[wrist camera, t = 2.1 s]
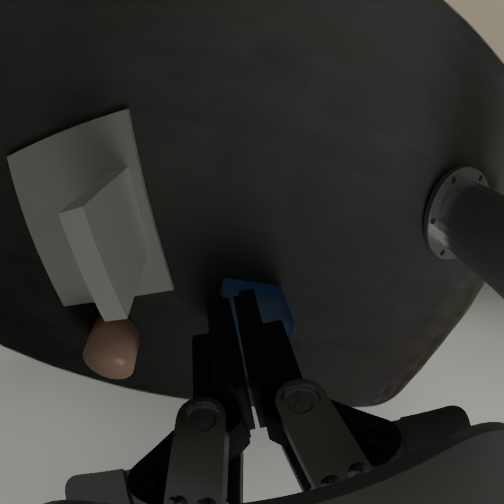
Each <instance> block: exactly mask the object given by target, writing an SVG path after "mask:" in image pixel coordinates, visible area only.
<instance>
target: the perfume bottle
mask: <svg viewBox="0 0 504 504" xmlns="http://www.w3.org/2000/svg"><path fill="white" fill-rule="evenodd" d="M247 289H254V293H255V296H256V300H257V304H258V307H259V311H260V315H261V318H262V322H263V323H267V322H271V321H276V320H282V322H283V324H284V327H285V330H286V333H287V336H288V339H289V340H290V337H291V334H292V331H293V328H294V325H295V323H294V320H293V318H292V315H291V312H290V310H289V307H288V304H287V301H286V299H285V296H284V293H283V291H282V288H281V286H279V285H272V284H265V283H257V282H250V281H243V280H236V279H230V278H224V279H223V283H222V287H221V291H220V295H221V294H222V296H223V298H227V297H229V301H230V305H231V310H232V314H233V319H234V323H235V327H236V332H237V336H238V341H239V345H240V349H241V354H242V360H243V365H244V371H245V376H246V382H247V387H248V393H249V398H250V403H251V404H253V405H254V401H253V397H252V393H251V389H250V385H249V380H248V375H247V370H246V365H245V359H244V354H243V348H242V343H241V337H240V332H239V326H238V320H237V315H236V309H235V303H234V297H233V296H237V295H239V291H242V290H247Z"/></svg>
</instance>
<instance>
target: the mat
mask: <svg viewBox="0 0 504 504" xmlns="http://www.w3.org/2000/svg"><path fill="white" fill-rule="evenodd" d="M7 160H8V164H9V168H10V172H11V175H12V179H13V183H14V186H15V190H16V193H17V196H18V199H19V202H20V205H21V208H22V211H23V214H24V217H25V220H26V223H27V226H28V228H29V231H30V233H31V236H32V239H33V241H34V244H35V246H36V248H37V251H38V253H39V256H40V258H41V260H42V262H43V265H44V267H45V269H46V271H47V273H48V276H49V278H50V280H51V282H52V284H53V286H54V288H55V290H56V292H57V294H58V296H59V298H60V300H61V302H62V303H63V305H64V306H69V305H77V304H84V303H91V302H94V300H93V297H92V295H91V293H90V291H89V289H88V287H87V285H86V283H85V280H84V278H83V276H82V274H81V271H80V269H79V267H78V264H77V262H76V260H75V257H74V255H73V252H72V250H71V247H70V245H69V242H68V240H67V237H66V234H65V232H64V229H63V226H62V223H61V220H60V217H59V215H58V213H60V212H61V211H62V210H63V209H64V208H65V207H67V206H68V205H69V204H70V203H71V202H72V201H74V200H75V199H76V198H77V197H78V196H80V195H81V194H82V193H83V192H85V191H86V190H87V189H88V188H90V187H91V186H92V185H93V184H95V183H96V182H97V181H99V180H100V179H101V178H103V177H104V176H105V175H107V174H108V173H109V172H112V171H116V170H120V169H123V168H127V167H128V170H129V174H130V178H131V182H132V186H133V190H134V194H135V198H136V202H137V205H138V209H139V212H140V216H141V220H142V223H143V227H144V230H145V233H146V237H147V240H148V243H149V246H150V251H149V254H148V256H147V259H146V262H145V265H144V268H143V271H142V274H141V277H140V280H139V283H138V286H137V289H136V292H135V295H134V296H138V295H145V294H151V293H157V292H164V291H170V290H174V285H173V282H172V279H171V275H170V272H169V269H168V266H167V263H166V259H165V256H164V253H163V249H162V246H161V242H160V239H159V235H158V232H157V228H156V225H155V221H154V217H153V214H152V210H151V206H150V202H149V198H148V194H147V190H146V186H145V182H144V178H143V174H142V169H141V165H140V161H139V156H138V151H137V147H136V142H135V137H134V132H133V127H132V122H131V116H130V111H129V109H126V110H122V111H119V112H116V113H112V114H109V115H106V116H103V117H100V118H97V119H94V120H91V121H89V122H86V123H83V124H80V125H78V126H75V127H72V128H70V129H67V130H65V131H62V132H60V133H57V134H55V135H52V136H50V137H48V138H46V139H43V140H41V141H39V142H37V143H34V144H32V145H30V146H28V147H26V148H24V149H22V150H20V151H18V152H16V153H14V154H12V155H10V156H8V157H7Z"/></svg>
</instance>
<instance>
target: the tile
mask: <svg viewBox="0 0 504 504" xmlns="http://www.w3.org/2000/svg"><path fill="white" fill-rule="evenodd" d="M58 215H59V217H60V220H61V223H62V226H63V229H64V232H65V234H66V237H67V240H68V242H69V245H70V247H71V250H72V252H73V255H74V257H75V260H76V262H77V264H78V267H79V269H80V271H81V274H82V276H83V278H84V280H85V283H86V285H87V287H88V289H89V291H90V293H91V295H92V297H93V300H94V302H95V304H96V306H97V308H98V310H99V312H100V314H101V315H102V317H103V319H104V321H114V320H122V319H127V318H128V315H129V311H130V308H131V305H132V302H133V298H134V295H135V292H136V289H137V286H138V283H139V280H140V277H141V274H142V271H143V268H144V265H145V262H146V259H147V256H148V254H149V251H150V246H149V243H148V240H147V237H146V233H145V230H144V227H143V223H142V220H141V216H140V212H139V209H138V205H137V202H136V198H135V194H134V190H133V186H132V182H131V178H130V174H129V170H128V167H127V168H123V169H120V170H116V171H112V172H109V173H108V174H107V175H105V176H104V177H103V178H101V179H100V180H99V181H97V182H96V183H95V184H93V185H92V186H91V187H90V188H88V189H87V190H86V191H85V192H83V193H82V194H81V195H80V196H78V197H77V198H76V199H75V200H74V201H72V202H71V203H70V204H69V205H68V206H67V207H65V208H64V209H63V210H62V211H61V212H60V213H58Z"/></svg>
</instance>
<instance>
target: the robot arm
mask: <svg viewBox="0 0 504 504" xmlns="http://www.w3.org/2000/svg"><path fill="white" fill-rule="evenodd" d="M423 230H424V237H425V241H426V244H427V246H428V247H429V249H430V250H431V251H432V252H433V253H434V254H435V255H436V256H438V257H439V258H442V259H445V260H446V259H454V258H457V257H458V258H459V259H460V260H461V261H462V262H463V263H465V264H466V265H467V266H468V267H469V268H470V269H472V270H473V271H474V272H475V273H476V274H477V275H478V276H480V277H481V278H482V279H483V280H484V281H485V282H486V283H487V284H488V285H489V286H491V287H492V288H493V289H494V290H495V291H496V292H497V293H498V294H499V295H500V296H501V297H502V298H503V299H504V195H502V194H500V193H498V192H496V191H494V190H492V189H490V188H489V185H488V182H487V180H486V178H485V176H484V175H483V174H482V173H481V172H480V171H479V170H478V169H476V168H474V167H471V166H468V165H460V166H457V167H454V168H453V169H451V170H449V171H448V172H447V173H446V174H445V175H444V176H443V177H442V178H441V179H440V180H439V182H438V183H437V184H436V186H435V188H434V190H433V191H432V193H431V196H430V198H429V200H428V203H427V207H426V210H425V216H424V229H423ZM233 297H234V303H235V309H236V315H237V320H238V326H239V332H240V337H241V343H242V348H243V354H244V359H245V365H246V370H247V375H248V380H249V385H250V389H251V393H252V397H253V401H254V405H255V409H256V413H257V416H258V421H259V425H260V427H261V428H262V427H267V431H268V435H269V439H270V440H272V441H274V442H276V443H278V444H280V445H281V446H282V449H283V451H284V453H285V455H286V458H287V460H288V462H289V464H290V466H291V468H292V471H293V473H294V475H295V477H296V479H297V481H298V483H299V485H300V487H301V489H302V491H303V492H301V493H297V494H292V495H288V496H283V497H278V498H273V499H268V500H261V501H255V502H248V503H243V451H244V449H245V448H246V447H247V446H248V445H249V444H250V439H249V438H250V437H251V435H250V430H251V429H255V424H254V419H253V414H252V409H251V403H250V398H249V393H248V387H247V382H246V376H245V371H244V365H243V360H242V354H241V349H240V345H239V341H238V336H237V332H236V327H235V323H234V319H233V314H232V310H231V305H230V301H229V297H227V298H223V296H222V294H221V295H215V296H210V297H207V307H208V325H209V333H207V334H201V335H195V336H193V340H192V354H193V399H191V400H189V401H187V402H186V403H184V404H183V405H182V407H181V408H180V409H179V411H178V414H177V417H176V423H175V429H174V430H173V431H172V432H171V433H170V434H169V435H168V436H167V437H166V438H165V439H163V440H162V441H161V442H160V443H159V444H158V445H157V446H156V447H155V448H154V449H153V450H152V451H151V452H149V453H148V454H147V455H146V456H145V457H144V458H143V459H141V460H140V461H139V462H138V463H137V464H136V465H135V466H134V467H133V468H132V469H130V470H125V471H124V470H123V469H118V470H112V471H106V472H98V473H90V474H81V475H75V476H72V477H71V478H70V479H69V480H68V482H67V483H66V488H65V494H66V500H58V501H52V502H48V503H44V504H504V423H500V422H487V423H481V424H477V425H473V426H471V425H470V422H469V419H468V416H467V414H466V412H465V411H464V410H463V409H462V408H460V407H458V406H446V407H443V408H439V409H435V410H432V411H428V412H423V413H420V414H415V415H410V416H406V417H401V418H400V420H396V421H389V420H387V419H384V418H381V417H378V416H374V415H371V414H369V413H366V412H363V411H360V410H357V409H355V408H352V407H349V406H346V405H344V404H341V403H338V402H336V401H333V400H331V399H330V398H329V397H328V395H327V394H326V392H325V390H324V389H323V388H322V387H321V386H320V384H318V383H316V382H315V381H313V380H309V379H303V378H302V375H301V373H300V370H299V367H298V364H297V361H296V358H295V356H294V353H293V350H292V347H291V344H290V341H289V339H288V336H287V333H286V330H285V327H284V324H283V322H282V320H276V321H271V322H267V323H263V322H262V318H261V315H260V311H259V307H258V304H257V300H256V296H255V293H254V289H247V290H242V291H239V295H237V296H233Z"/></svg>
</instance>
